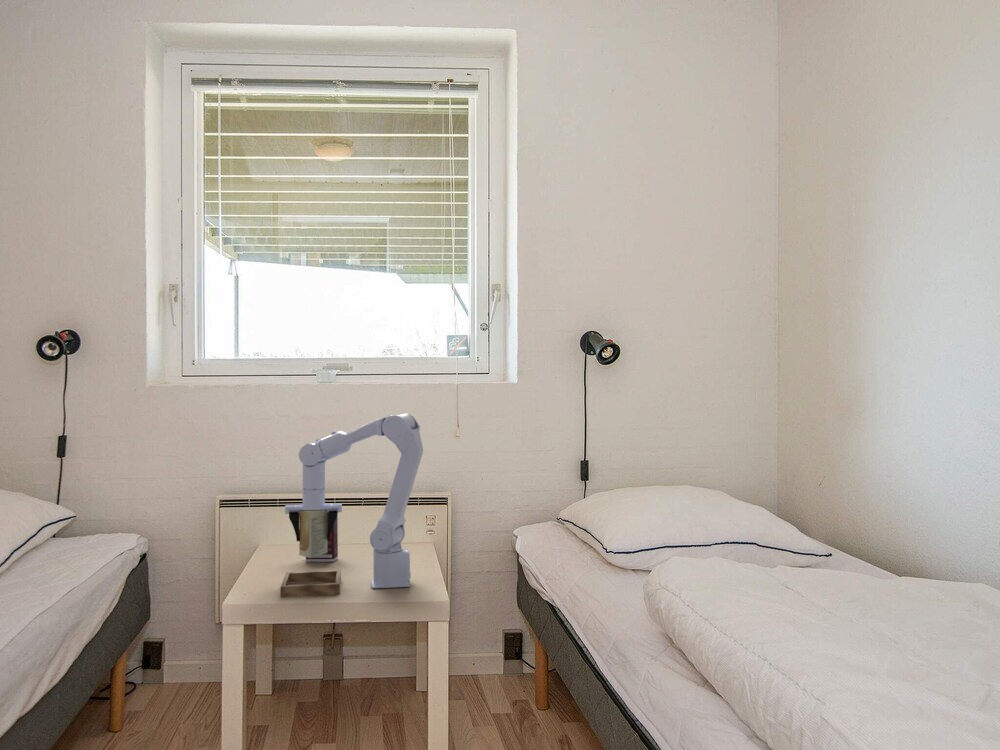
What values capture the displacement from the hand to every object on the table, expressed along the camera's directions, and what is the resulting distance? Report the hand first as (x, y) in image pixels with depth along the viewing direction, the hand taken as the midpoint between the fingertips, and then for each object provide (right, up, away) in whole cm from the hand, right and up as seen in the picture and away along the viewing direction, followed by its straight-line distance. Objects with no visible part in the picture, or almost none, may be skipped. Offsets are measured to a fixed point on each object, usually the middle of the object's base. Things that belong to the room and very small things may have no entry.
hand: (313, 540), depth 202 cm
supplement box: (-3, -11, +22) cm, 24 cm away
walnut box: (+2, -10, -8) cm, 13 cm away
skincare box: (0, -4, 0) cm, 4 cm away
